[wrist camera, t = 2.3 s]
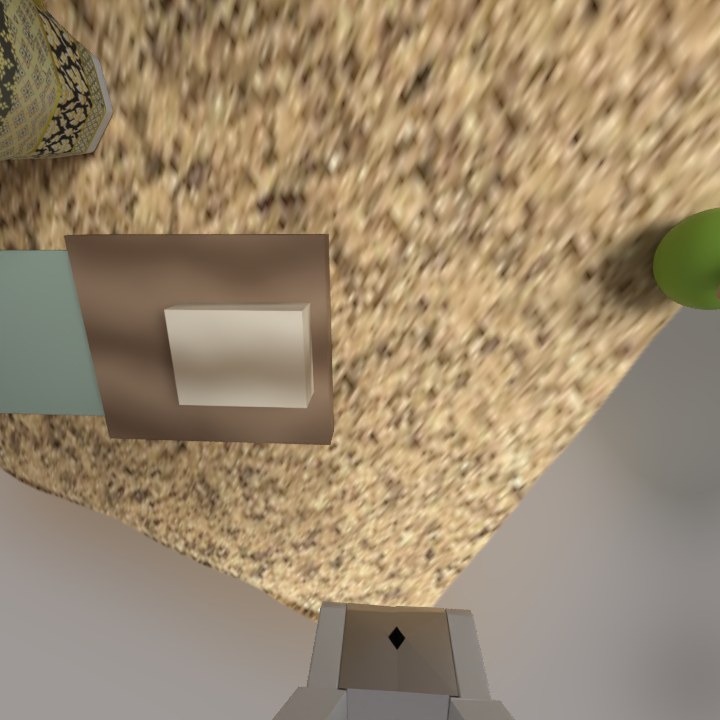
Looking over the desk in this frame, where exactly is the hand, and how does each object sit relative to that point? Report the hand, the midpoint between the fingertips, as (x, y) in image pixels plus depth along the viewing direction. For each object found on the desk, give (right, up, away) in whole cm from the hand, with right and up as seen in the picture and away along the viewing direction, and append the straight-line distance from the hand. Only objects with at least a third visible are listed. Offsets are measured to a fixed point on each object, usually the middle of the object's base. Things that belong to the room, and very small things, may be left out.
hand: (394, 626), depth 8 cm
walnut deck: (-11, +7, +20) cm, 24 cm away
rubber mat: (-25, +7, +21) cm, 33 cm away
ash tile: (-8, +6, +18) cm, 21 cm away
